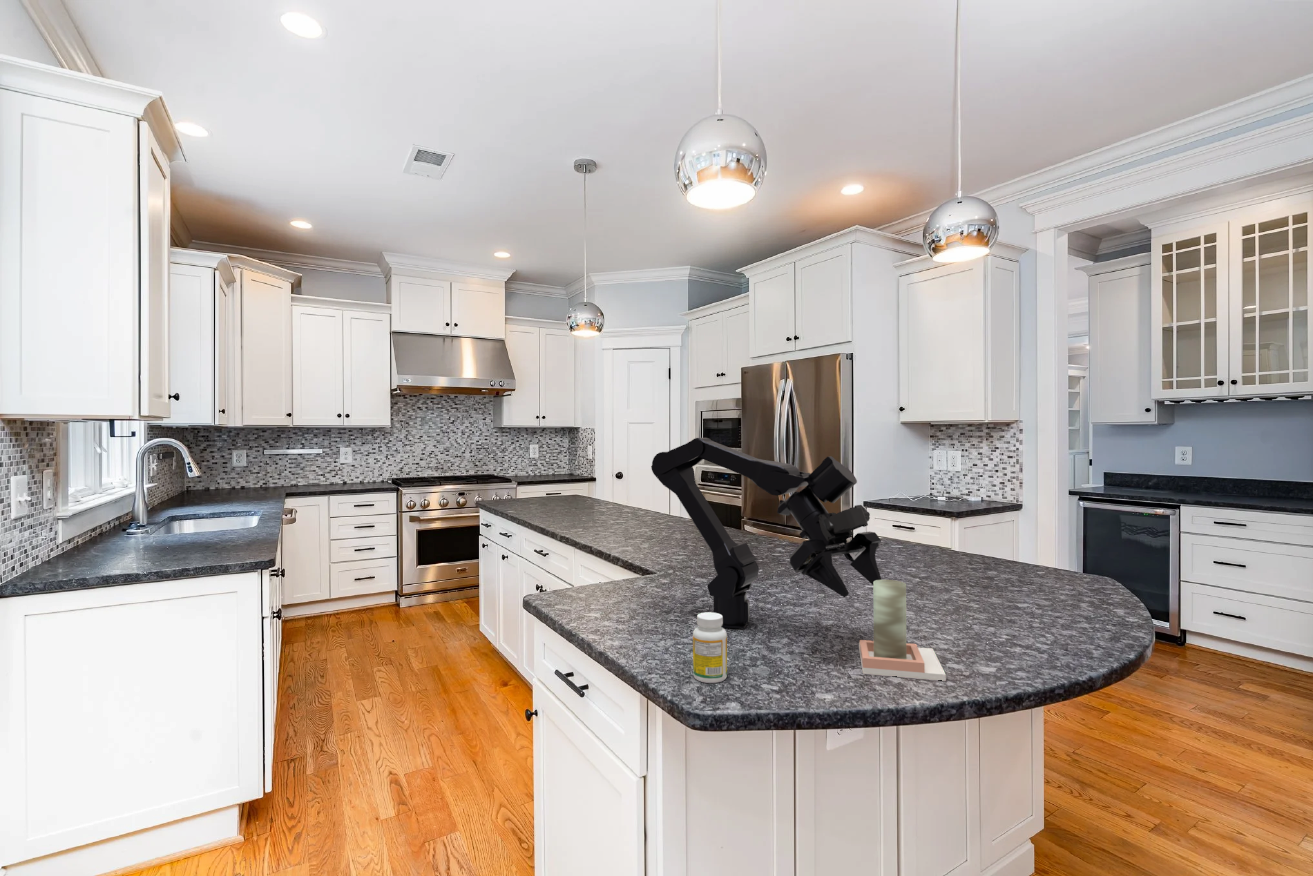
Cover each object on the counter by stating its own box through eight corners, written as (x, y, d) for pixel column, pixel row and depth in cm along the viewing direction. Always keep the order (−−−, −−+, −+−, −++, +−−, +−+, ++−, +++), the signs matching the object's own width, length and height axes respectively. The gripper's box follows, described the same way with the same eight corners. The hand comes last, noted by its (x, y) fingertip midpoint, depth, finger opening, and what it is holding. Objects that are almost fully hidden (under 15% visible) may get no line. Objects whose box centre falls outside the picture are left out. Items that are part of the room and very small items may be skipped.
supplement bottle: (714, 686, 93) (713, 623, 93) (685, 678, 96) (685, 616, 96) (734, 676, 97) (733, 614, 97) (706, 668, 101) (705, 609, 101)
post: (874, 664, 99) (874, 586, 99) (872, 653, 104) (872, 578, 104) (908, 667, 98) (908, 587, 97) (904, 656, 102) (904, 580, 102)
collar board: (862, 673, 97) (862, 658, 97) (858, 648, 109) (858, 634, 109) (945, 681, 94) (945, 664, 94) (932, 654, 106) (932, 639, 106)
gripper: (802, 493, 103) (857, 571, 94) (872, 487, 114) (927, 557, 105) (768, 534, 110) (817, 610, 101) (837, 525, 121) (887, 593, 112)
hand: (864, 591), depth 104 cm, fingers open, 9 cm apart
